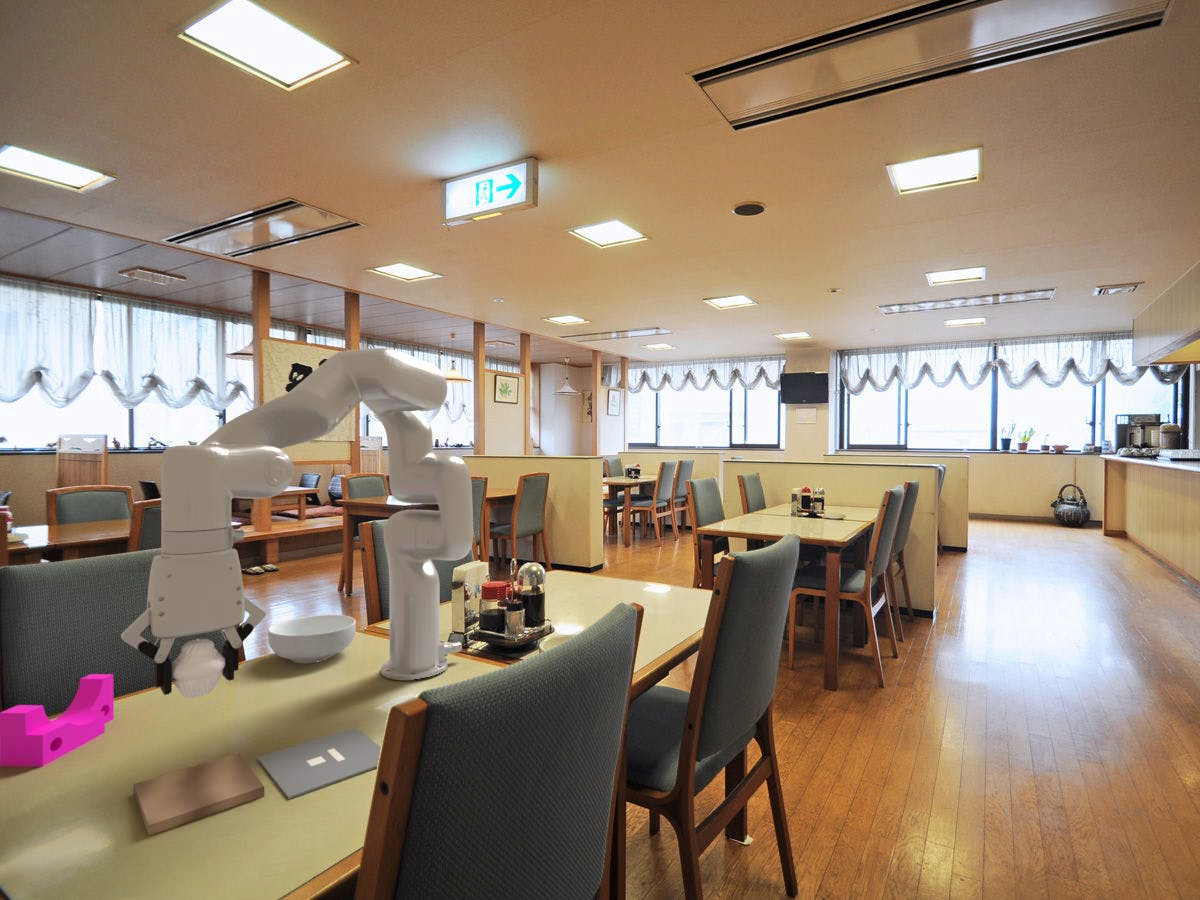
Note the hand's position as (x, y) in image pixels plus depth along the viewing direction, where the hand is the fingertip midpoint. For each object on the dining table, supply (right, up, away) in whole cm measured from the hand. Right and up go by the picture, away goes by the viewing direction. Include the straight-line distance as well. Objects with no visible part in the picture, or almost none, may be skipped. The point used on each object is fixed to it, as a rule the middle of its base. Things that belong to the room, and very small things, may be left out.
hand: (197, 682), depth 80 cm
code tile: (+12, -14, +9) cm, 21 cm away
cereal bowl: (-9, -14, +53) cm, 55 cm away
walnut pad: (0, -14, 0) cm, 14 cm away
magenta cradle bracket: (-29, -15, +15) cm, 36 cm away
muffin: (0, -1, 0) cm, 1 cm away
